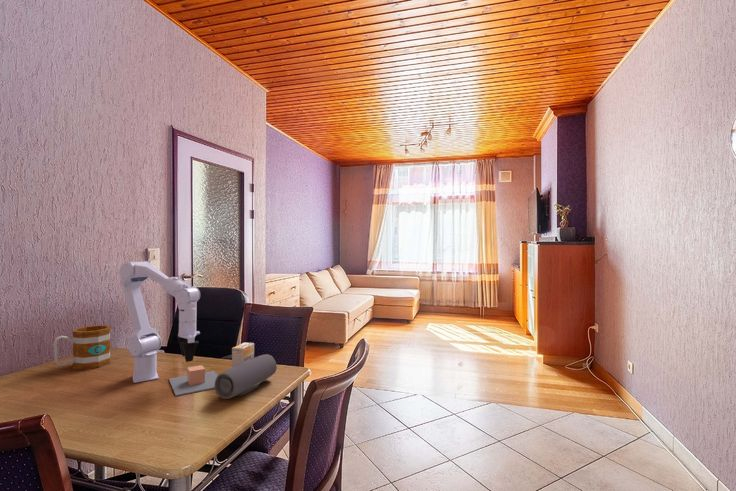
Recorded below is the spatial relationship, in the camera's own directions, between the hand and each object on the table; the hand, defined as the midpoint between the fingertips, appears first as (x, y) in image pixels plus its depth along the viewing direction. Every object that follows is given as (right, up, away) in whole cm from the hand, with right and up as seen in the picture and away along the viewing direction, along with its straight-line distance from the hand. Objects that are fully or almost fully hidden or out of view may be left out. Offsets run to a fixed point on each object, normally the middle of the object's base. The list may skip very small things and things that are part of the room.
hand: (187, 358), depth 136 cm
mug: (-51, -9, +18) cm, 55 cm away
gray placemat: (+3, -9, +1) cm, 10 cm away
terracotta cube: (+3, -9, +1) cm, 9 cm away
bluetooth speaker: (+23, -10, -5) cm, 26 cm away
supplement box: (+19, -10, +4) cm, 22 cm away
